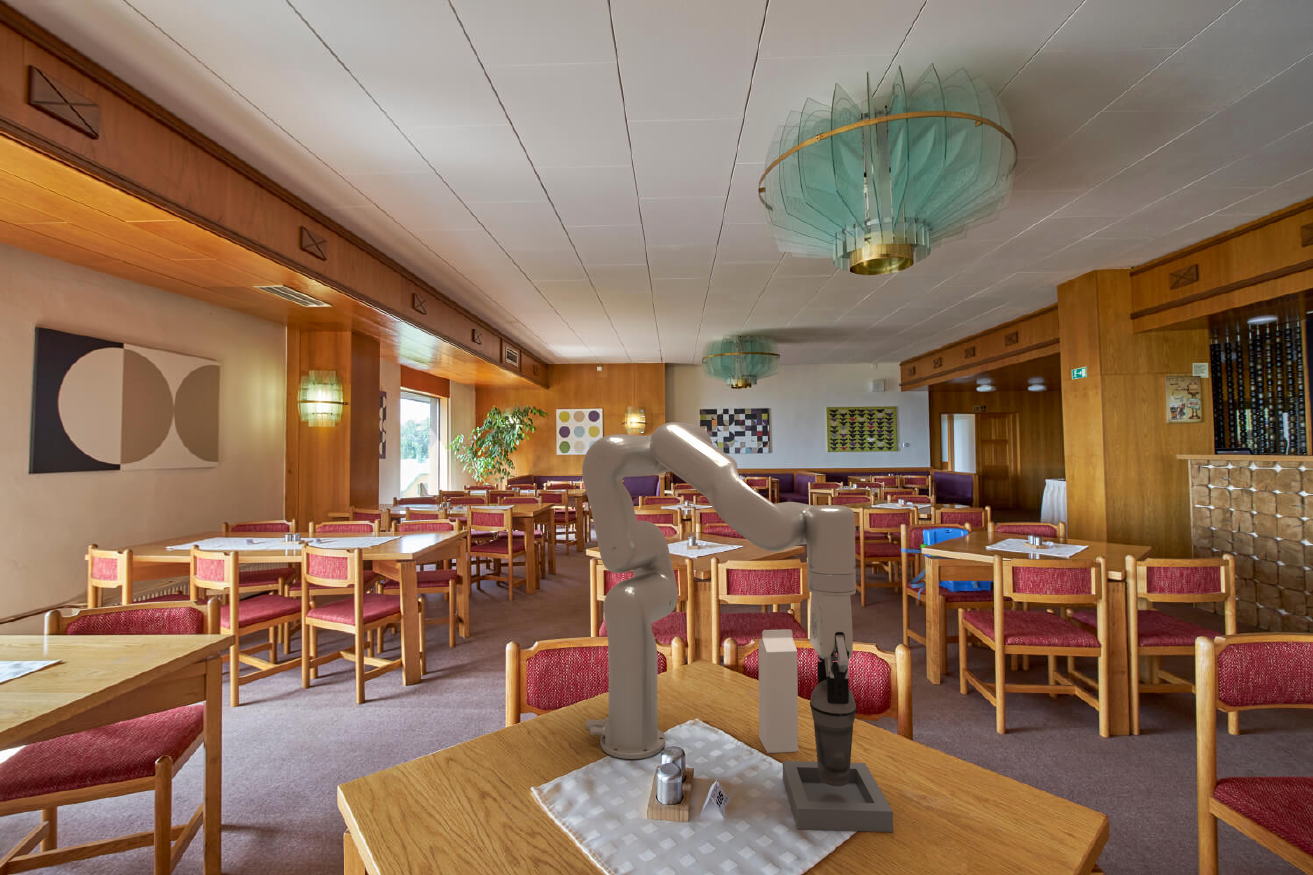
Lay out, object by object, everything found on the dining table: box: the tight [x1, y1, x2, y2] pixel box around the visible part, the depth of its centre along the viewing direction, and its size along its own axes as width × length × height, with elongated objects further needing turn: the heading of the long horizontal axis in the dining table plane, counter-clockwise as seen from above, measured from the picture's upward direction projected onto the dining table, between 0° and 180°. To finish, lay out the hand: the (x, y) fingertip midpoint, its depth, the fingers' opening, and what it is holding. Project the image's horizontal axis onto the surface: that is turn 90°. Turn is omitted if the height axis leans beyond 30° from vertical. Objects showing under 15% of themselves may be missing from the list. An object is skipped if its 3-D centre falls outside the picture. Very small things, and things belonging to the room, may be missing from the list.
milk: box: [758, 629, 799, 754], centre depth 115 cm, size 6×6×22 cm
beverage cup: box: [809, 657, 857, 786], centre depth 96 cm, size 7×7×20 cm
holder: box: [782, 760, 894, 833], centre depth 96 cm, size 14×14×3 cm
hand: (832, 693), depth 96 cm, fingers closed on beverage cup, 6 cm apart
